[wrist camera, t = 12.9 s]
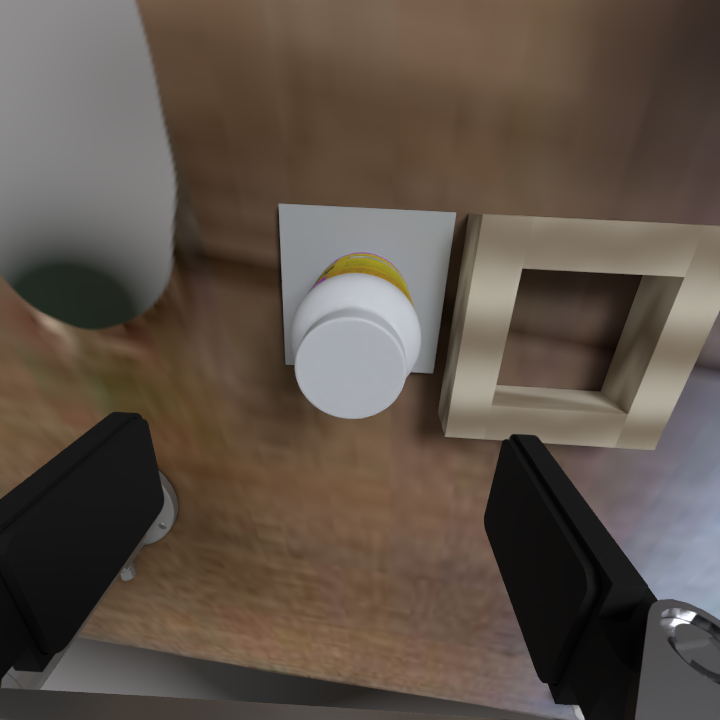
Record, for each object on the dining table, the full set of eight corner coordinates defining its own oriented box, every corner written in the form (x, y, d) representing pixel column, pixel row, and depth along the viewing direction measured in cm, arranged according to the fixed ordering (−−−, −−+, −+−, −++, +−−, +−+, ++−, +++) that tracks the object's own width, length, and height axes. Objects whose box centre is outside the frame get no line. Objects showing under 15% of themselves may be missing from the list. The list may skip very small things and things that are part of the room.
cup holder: (624, 424, 30) (654, 450, 27) (437, 412, 31) (444, 436, 27) (707, 224, 24) (757, 228, 21) (469, 213, 24) (483, 214, 21)
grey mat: (432, 370, 29) (433, 373, 29) (287, 361, 29) (285, 364, 29) (454, 212, 24) (456, 212, 24) (280, 203, 25) (278, 203, 24)
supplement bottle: (334, 236, 25) (295, 264, 13) (421, 269, 25) (461, 325, 14) (306, 322, 27) (254, 410, 15) (386, 350, 28) (394, 456, 16)
